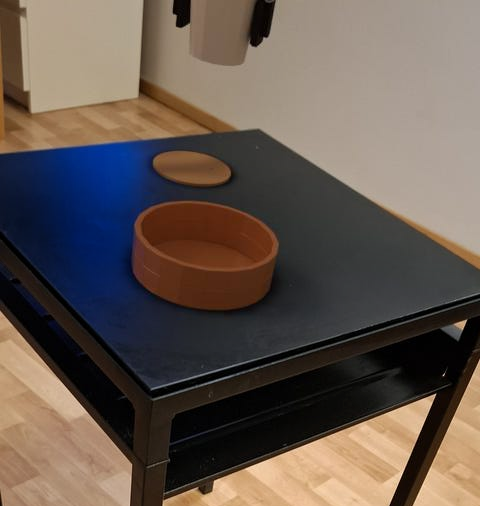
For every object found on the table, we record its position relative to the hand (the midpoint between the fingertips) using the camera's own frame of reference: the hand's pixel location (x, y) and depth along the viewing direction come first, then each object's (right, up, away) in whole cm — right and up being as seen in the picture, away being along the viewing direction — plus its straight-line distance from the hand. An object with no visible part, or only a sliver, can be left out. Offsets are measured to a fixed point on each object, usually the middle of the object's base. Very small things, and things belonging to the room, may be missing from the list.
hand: (219, 32), depth 72 cm
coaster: (-4, -6, +22) cm, 23 cm away
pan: (-2, -23, +3) cm, 23 cm away
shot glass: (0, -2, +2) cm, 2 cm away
